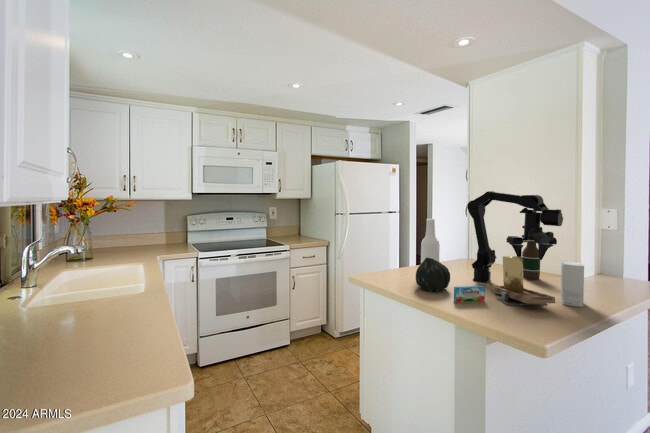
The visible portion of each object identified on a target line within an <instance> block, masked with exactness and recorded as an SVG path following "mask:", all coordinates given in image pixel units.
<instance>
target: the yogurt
mask: <svg viewBox="0 0 650 433" xmlns="http://www.w3.org/2000/svg"><path fill="white" fill-rule="evenodd" d="M484 302H486V286H483V285H467V286H466V285H465V286H464V285H463V286H454V288H453V303H455V304H465V303H466V304H468V303H470V304H471V303H473V304H474V303H484Z"/></svg>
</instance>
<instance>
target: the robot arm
mask: <svg viewBox="0 0 650 433" xmlns="http://www.w3.org/2000/svg"><path fill="white" fill-rule="evenodd" d="M493 201H496V202H503V203H511V204H516V205H519V206H521V207H522V208H523V207H524V208H523V209H522V210H520V211H519V213H520V214H524V223H523V225H522V229H523V234H521V236H516V235H514V236H513V235H511V236H510V235H508V236H507V237H506V239H505V240H506V243H508V244H509V245H511V247H512V248H513V249H512V250H514V252H515V254H516V256H520V257H522V252H523V250H522V249H523V247H524V243H527V242H536V245H538V246H537V248H538V250H539V260H540V261H542V260H543V259H544V257H545V255H546V252H547V251H548V249H550V248H551V247H554V245H557V244H558V239H557V238H556V237H555V236H554V235H555V234H554V232H553V231H547V232H545V231H543V227H541V223H542V225H543V226H549V227H551V226H553V227H561V226H562V225H563V221H564V216H563V213H562V209H561V208H560V209H558V208H557V209H549V207H548V206H547V205H546V204H545V202H544V198H543V197H542V196H541V195H540V194H524V195H523V194H520V195H519V194H511V193H504V192H495V191H493V190H492V191H490V190H489V191H485V192H484V193H483V194H482V195H480V196H477V198H475V199H473V200H470V201H468V203H467V204H466V209H467V210H468V211H467V212H468V213H469V215H470V217H471V218H472V221H473V227H474V231H475V235H476V236H475V237H476V241H477V247H478V248H477V253H476V260H475V261H473V263H471V266H472V269H473V279H472V281H474V282H481V283H489V282H490V281H491V278H492V277H491V274H492V272H491V271H490V269H491V268H492V266H493V265H494V263H495V262H496V259H497V255H496V251H495V249H492V248H491V247H490V244H489V238H488V232H487V227H486V223H485V214H486V207H487V206H488V205H489V204H491V202H493Z"/></svg>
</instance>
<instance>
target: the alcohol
mask: <svg viewBox="0 0 650 433" xmlns="http://www.w3.org/2000/svg"><path fill="white" fill-rule="evenodd" d="M425 228H426V229H425V236H424V237H423V239H422V240H421V244H420V265H421V264H422V262H423V261H424V260H425V259H426V258H432V259H434V260H436V261H438V262H440V249H441V248H440V247H441V246H440V241H439V240H438V238H437V237H436V225H435V218H426V227H425Z"/></svg>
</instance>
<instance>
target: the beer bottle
mask: <svg viewBox="0 0 650 433" xmlns="http://www.w3.org/2000/svg"><path fill="white" fill-rule="evenodd" d="M521 257H523V280H529V281H538V280H540V277H541V260H539V249H538V246H537V243H536V242H526V245H525V248H523V250H522V253H521Z"/></svg>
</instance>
